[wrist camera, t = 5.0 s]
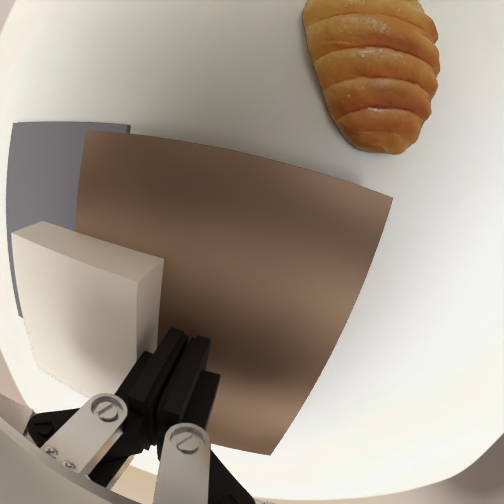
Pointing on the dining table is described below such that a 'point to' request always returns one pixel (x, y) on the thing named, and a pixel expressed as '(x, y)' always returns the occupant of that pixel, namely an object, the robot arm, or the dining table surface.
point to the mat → (45, 176)
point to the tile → (86, 305)
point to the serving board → (238, 263)
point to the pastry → (374, 68)
